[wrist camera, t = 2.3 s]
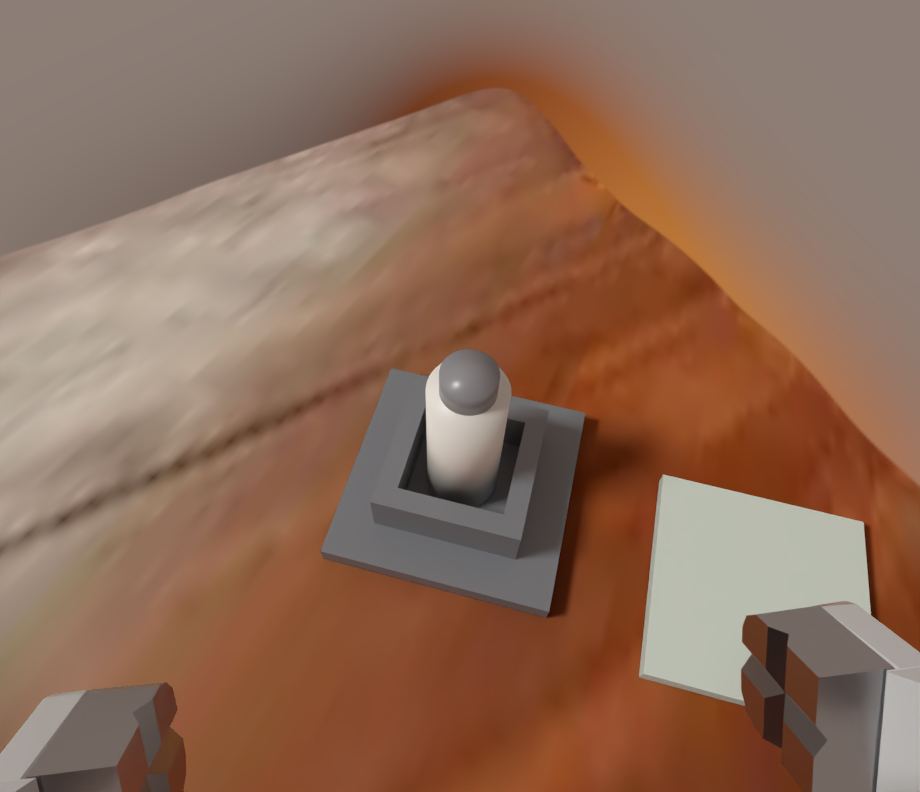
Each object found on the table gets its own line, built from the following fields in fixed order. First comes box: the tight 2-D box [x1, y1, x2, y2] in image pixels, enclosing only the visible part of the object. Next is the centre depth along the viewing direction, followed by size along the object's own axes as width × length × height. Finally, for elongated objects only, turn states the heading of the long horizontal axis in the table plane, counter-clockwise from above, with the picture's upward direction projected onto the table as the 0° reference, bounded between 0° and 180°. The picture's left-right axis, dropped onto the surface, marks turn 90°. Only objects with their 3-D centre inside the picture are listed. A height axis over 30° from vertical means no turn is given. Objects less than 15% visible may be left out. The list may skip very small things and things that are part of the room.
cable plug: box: [425, 349, 511, 507], centre depth 30 cm, size 4×4×9 cm
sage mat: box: [639, 475, 871, 706], centre depth 32 cm, size 10×10×1 cm
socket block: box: [321, 368, 585, 618], centre depth 33 cm, size 11×11×4 cm
